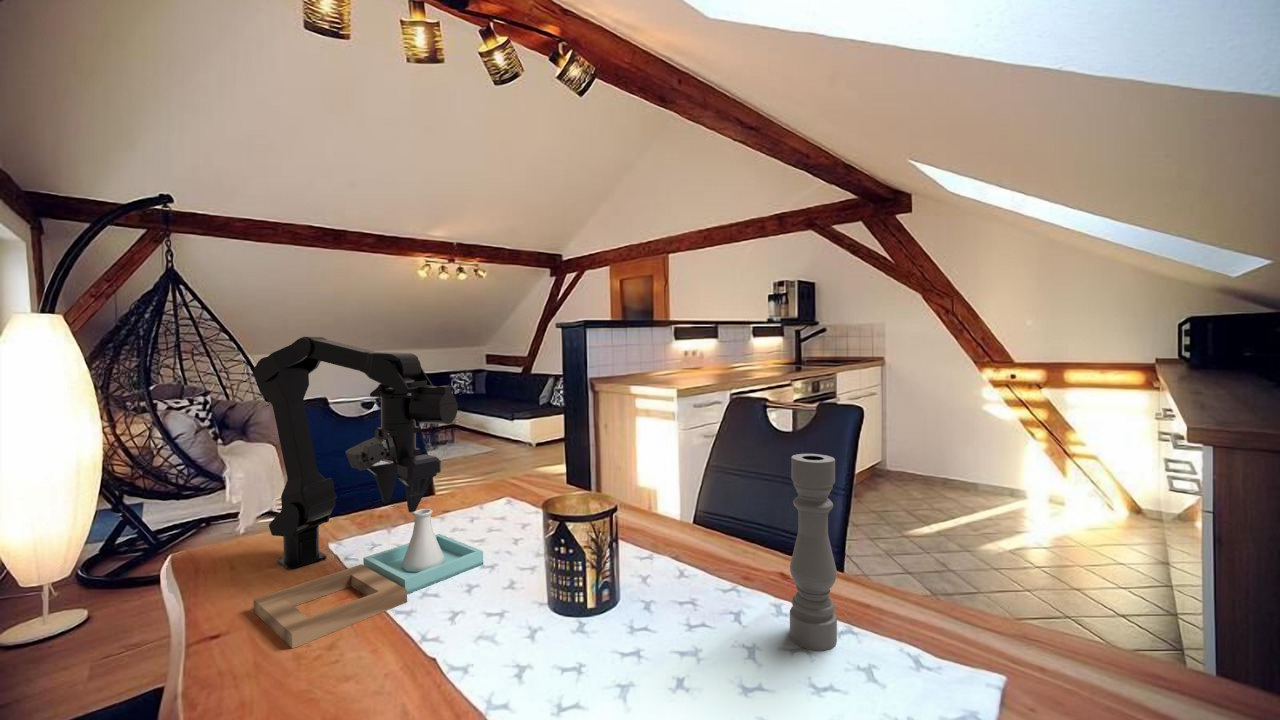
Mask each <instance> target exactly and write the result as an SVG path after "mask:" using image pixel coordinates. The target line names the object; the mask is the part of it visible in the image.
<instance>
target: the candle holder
mask: <svg viewBox="0 0 1280 720" xmlns="http://www.w3.org/2000/svg"><path fill="white" fill-rule="evenodd" d="M790 461H791V467H790V471H791V473H790V474H791V475H790V476H791V479H790V480H792V482H793V483H792V485H793V486H794V488H795V491H796V493H797V494H798V495H797V496H796V497H795V498H794V499H793V500H792V503H793V506H794V508H796V510H797V511H798V515H797V517H798V518H797V520H798V521H797V524H798V525H797V526H798V527H797V528H798V529H797V535H796V539H795V542H794V548H793V553H792V557H791V560H790V564H789V572H790V575H791V578H792V579H793V582H794V583H795V587H796V590H797V591H796V592H795V594H794V595H793V596H792V598H791V604H792V606H791V608H790V610H789V636H790V639H791V641H793V642H794V643H795V644H796V645H798V646H800V647H802V648H804V649H807V650H811V651H819V652H820V651H827V650H832V649H833V648H835V647H836V645H837V643H838V616H837V615H836V613H835V609H836V606H835V603H834V601H833V600H832V598H831V596H829V595H830V593H831V589H832V588H833V586H834V584H835V583H836V580H837V576H838V574H837V572H838V571H837V566H836V562H835V557H834V554H833V550H832V545H831V541H830V537H829V520H828V519H829V513H830V511H832V510H833V509H834V503H833V502H832V500H831V499H830V498H828V497H829V496H830V494H831V491H832V490H833V489H834V486H833V485H834V484H835V483H836V459H835V458H834V457H833V456H829V455H825V454H819V453H799V454H798V453H796V454H794V455H792V456H791V459H790Z"/></svg>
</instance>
